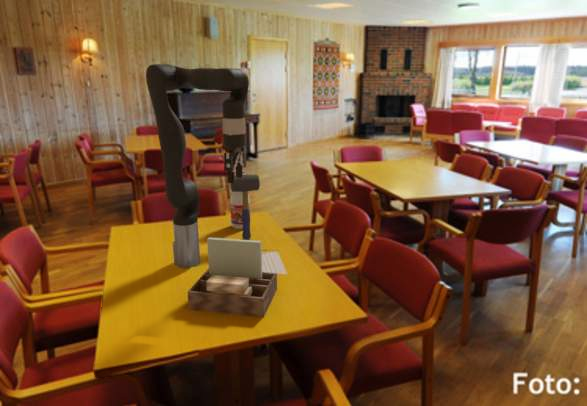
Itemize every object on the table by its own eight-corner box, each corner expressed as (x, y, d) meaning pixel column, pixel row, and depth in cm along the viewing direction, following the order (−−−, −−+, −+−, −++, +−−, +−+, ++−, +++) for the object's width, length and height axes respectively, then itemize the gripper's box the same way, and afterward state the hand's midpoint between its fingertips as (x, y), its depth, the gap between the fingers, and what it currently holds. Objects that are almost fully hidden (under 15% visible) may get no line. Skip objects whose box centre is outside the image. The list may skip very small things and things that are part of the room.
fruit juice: (254, 226, 215) (252, 171, 207) (237, 230, 209) (235, 173, 202) (243, 222, 222) (241, 167, 214) (227, 225, 216) (225, 170, 209)
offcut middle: (210, 299, 135) (209, 290, 134) (216, 292, 140) (215, 283, 139) (247, 303, 133) (247, 294, 132) (252, 295, 138) (251, 286, 137)
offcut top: (206, 290, 134) (206, 281, 134) (212, 283, 139) (212, 274, 138) (244, 294, 132) (243, 285, 132) (248, 286, 137) (248, 277, 136)
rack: (189, 313, 136) (187, 291, 134) (210, 287, 153) (209, 267, 151) (264, 321, 132) (263, 298, 129) (277, 293, 149) (276, 273, 146)
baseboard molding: (258, 291, 151) (292, 288, 153) (257, 284, 150) (292, 281, 153) (249, 257, 180) (277, 254, 183) (248, 250, 180) (277, 248, 182)
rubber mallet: (234, 243, 193) (231, 177, 185) (231, 237, 200) (229, 173, 192) (261, 240, 196) (260, 175, 188) (258, 235, 203) (257, 172, 195)
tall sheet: (210, 288, 149) (207, 239, 144) (211, 286, 150) (208, 237, 145) (261, 293, 145) (260, 242, 140) (262, 291, 147) (261, 240, 142)
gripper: (230, 129, 151) (231, 175, 155) (215, 134, 137) (217, 184, 142) (251, 129, 149) (252, 176, 154) (238, 135, 136) (239, 185, 140)
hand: (235, 180), depth 148 cm, fingers open, 8 cm apart
